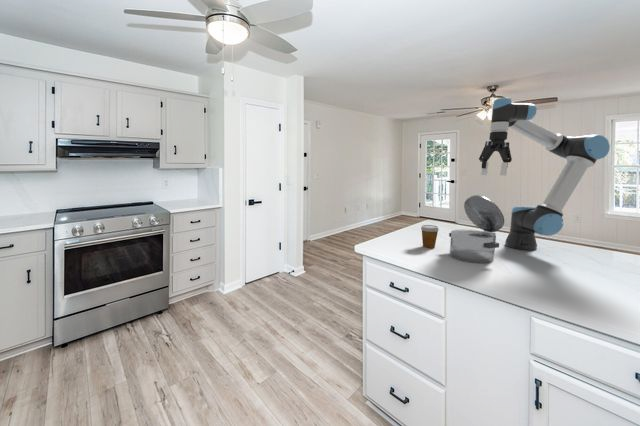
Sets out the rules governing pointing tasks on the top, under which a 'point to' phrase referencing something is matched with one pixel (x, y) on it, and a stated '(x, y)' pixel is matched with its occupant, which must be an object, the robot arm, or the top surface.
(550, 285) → the top surface
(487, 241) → the cooker pot
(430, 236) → the disposable coffee cup
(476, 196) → the pot lid
